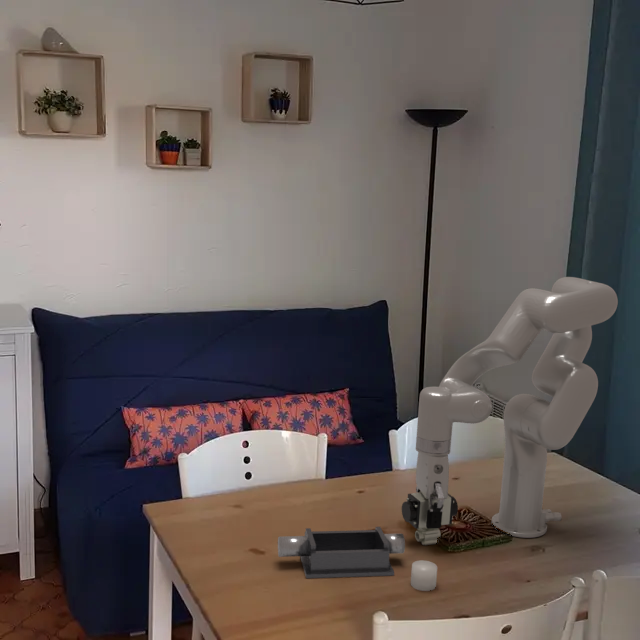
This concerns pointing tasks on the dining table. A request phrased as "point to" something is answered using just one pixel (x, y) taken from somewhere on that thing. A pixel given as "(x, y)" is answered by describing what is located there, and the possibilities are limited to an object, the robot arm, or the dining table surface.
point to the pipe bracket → (343, 552)
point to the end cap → (423, 575)
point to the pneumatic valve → (417, 516)
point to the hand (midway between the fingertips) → (427, 518)
